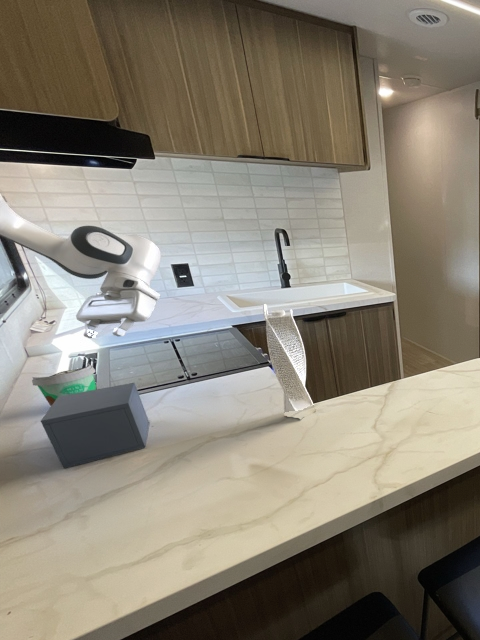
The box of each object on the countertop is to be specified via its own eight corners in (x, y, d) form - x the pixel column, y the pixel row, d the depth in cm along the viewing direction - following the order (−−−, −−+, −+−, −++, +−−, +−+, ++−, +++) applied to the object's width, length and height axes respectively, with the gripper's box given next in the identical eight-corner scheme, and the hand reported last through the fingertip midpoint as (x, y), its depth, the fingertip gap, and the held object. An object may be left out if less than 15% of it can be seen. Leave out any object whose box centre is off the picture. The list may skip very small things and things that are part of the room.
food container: (59, 416, 103) (42, 380, 99) (46, 413, 105) (29, 377, 101) (116, 397, 114) (103, 364, 110) (103, 395, 116) (89, 362, 112)
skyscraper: (276, 418, 100) (248, 306, 90) (299, 405, 106) (276, 300, 96) (300, 422, 97) (275, 308, 87) (323, 409, 104) (301, 302, 94)
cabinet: (77, 439, 92) (58, 396, 88) (149, 422, 99) (134, 382, 95) (63, 468, 80) (40, 420, 77) (145, 447, 88) (128, 402, 84)
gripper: (81, 286, 107) (57, 332, 102) (142, 281, 103) (121, 328, 98) (106, 299, 113) (85, 343, 108) (165, 294, 109) (146, 340, 104)
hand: (103, 336), depth 103 cm, fingers open, 8 cm apart
